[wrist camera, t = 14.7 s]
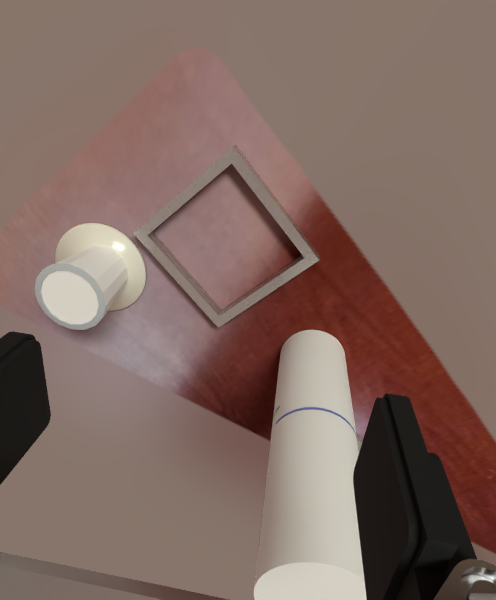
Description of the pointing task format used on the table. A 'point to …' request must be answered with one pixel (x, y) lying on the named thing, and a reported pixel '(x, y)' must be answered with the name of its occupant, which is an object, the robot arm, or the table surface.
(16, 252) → the table surface
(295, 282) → the table surface
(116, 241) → the cream flat disc
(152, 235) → the holder collar
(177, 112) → the table surface
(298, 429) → the cylindrical container
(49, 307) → the white cup
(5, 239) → the table surface
